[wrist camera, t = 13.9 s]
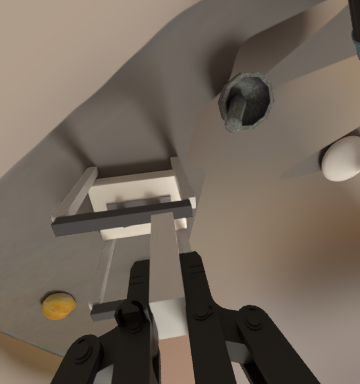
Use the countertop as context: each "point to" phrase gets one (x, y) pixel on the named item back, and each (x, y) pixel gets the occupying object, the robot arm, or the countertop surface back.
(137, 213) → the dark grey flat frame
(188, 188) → the white grey open frame
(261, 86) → the mortar and pestle
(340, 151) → the flower in vase
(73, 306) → the bread roll
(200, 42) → the countertop surface
